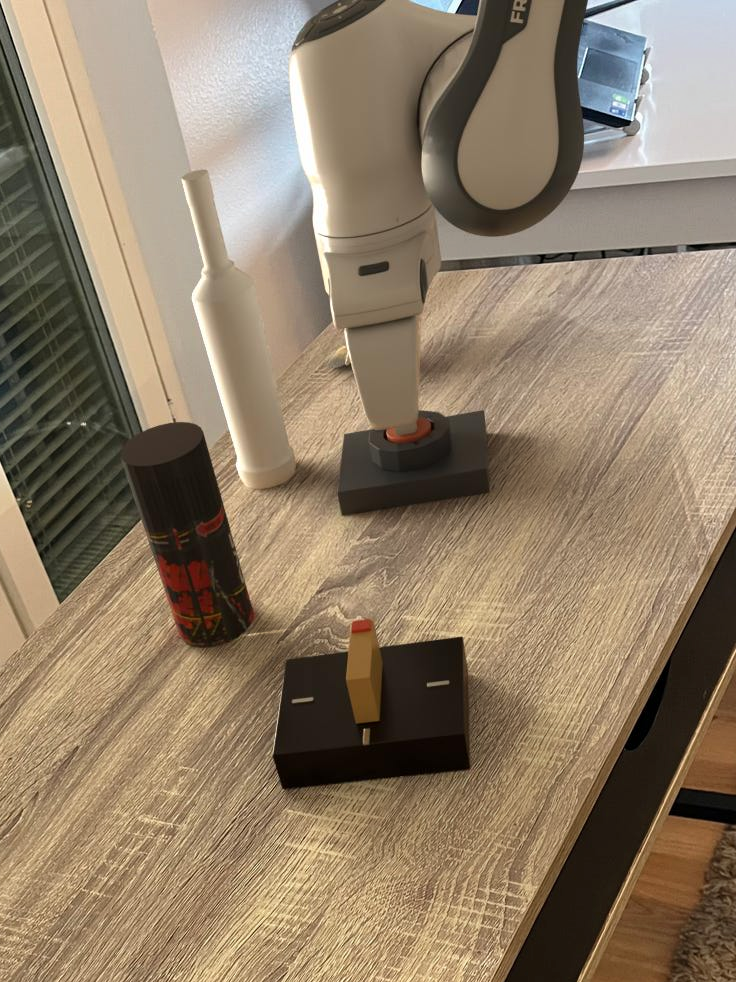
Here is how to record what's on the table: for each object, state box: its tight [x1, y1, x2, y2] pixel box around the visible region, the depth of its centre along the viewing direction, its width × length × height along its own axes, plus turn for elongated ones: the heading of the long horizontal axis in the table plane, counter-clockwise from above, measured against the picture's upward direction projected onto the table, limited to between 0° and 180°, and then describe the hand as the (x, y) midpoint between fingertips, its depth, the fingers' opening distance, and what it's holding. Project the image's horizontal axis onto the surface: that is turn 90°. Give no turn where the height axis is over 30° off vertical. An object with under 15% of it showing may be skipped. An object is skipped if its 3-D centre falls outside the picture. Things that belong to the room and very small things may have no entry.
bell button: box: [386, 417, 431, 444], centre depth 105 cm, size 4×4×2 cm
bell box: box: [336, 409, 491, 517], centre depth 106 cm, size 12×10×4 cm
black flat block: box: [271, 636, 471, 790], centre depth 83 cm, size 12×10×3 cm
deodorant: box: [119, 421, 255, 648], centre depth 93 cm, size 6×6×15 cm
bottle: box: [181, 169, 297, 490], centre depth 104 cm, size 5×5×25 cm
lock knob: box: [346, 618, 383, 724], centre depth 81 cm, size 6×2×4 cm, turn 174°
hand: (407, 426), depth 104 cm, fingers closed, pressing on bell button
